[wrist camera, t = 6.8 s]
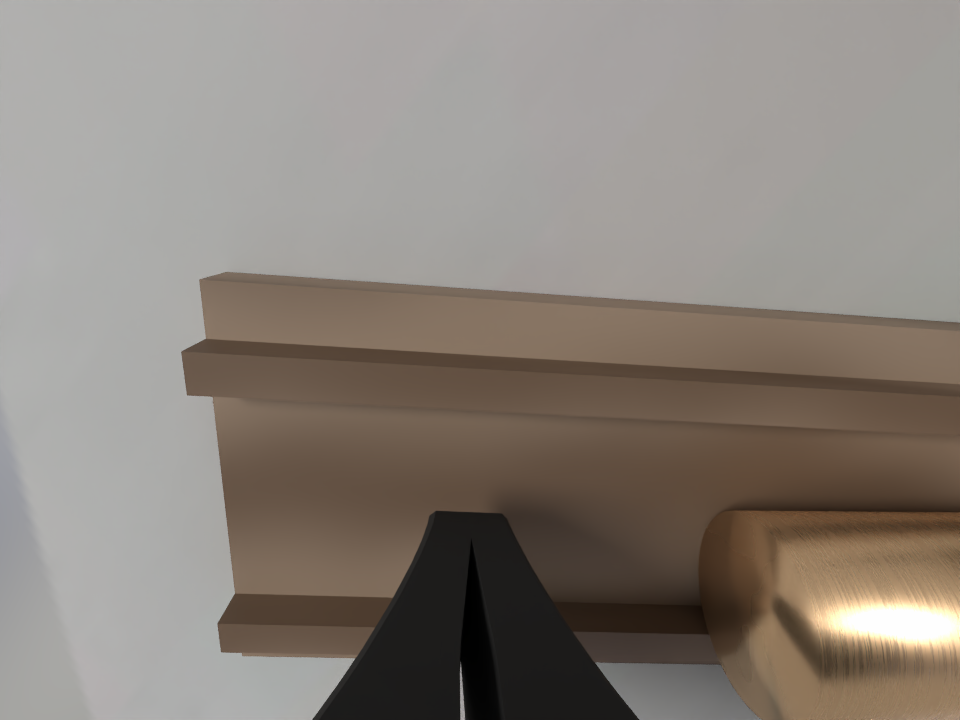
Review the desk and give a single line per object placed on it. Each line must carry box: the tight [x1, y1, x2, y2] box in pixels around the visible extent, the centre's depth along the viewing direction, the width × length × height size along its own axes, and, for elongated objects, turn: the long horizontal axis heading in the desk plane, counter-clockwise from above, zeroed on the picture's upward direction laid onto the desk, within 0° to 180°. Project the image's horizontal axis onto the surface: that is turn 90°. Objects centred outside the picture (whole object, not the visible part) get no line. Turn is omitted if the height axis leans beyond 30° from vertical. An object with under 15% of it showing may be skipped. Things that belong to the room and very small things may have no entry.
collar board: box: [181, 272, 960, 665], centre depth 8 cm, size 9×26×6 cm, turn 86°
